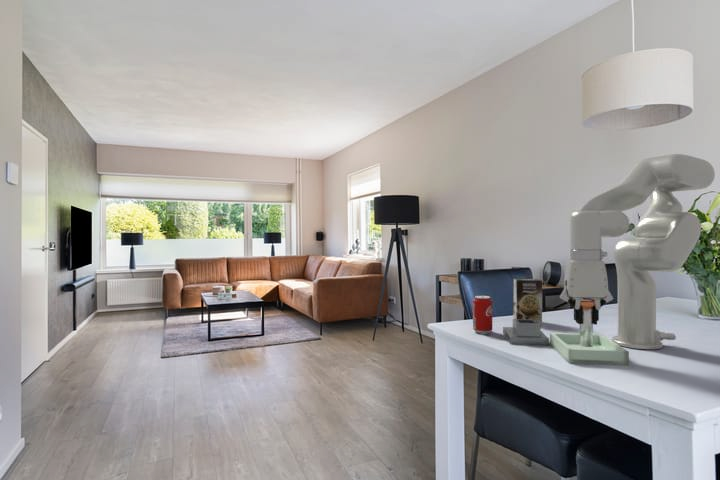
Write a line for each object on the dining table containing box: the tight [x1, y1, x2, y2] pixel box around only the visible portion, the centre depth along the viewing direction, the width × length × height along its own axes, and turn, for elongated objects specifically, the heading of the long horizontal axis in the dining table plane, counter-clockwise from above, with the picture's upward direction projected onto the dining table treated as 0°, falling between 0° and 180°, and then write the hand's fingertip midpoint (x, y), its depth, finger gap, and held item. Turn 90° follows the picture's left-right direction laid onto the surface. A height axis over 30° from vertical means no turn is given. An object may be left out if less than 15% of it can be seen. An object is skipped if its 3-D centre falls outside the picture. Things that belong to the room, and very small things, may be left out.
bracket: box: [502, 318, 550, 346], centre depth 133 cm, size 11×14×6 cm
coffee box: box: [512, 278, 543, 325], centre depth 157 cm, size 9×6×16 cm
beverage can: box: [472, 295, 493, 335], centre depth 142 cm, size 6×6×12 cm
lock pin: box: [579, 299, 595, 347], centre depth 115 cm, size 4×4×12 cm
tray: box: [549, 332, 630, 366], centre depth 115 cm, size 14×18×4 cm
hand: (586, 322), depth 115 cm, fingers closed on lock pin, 3 cm apart
